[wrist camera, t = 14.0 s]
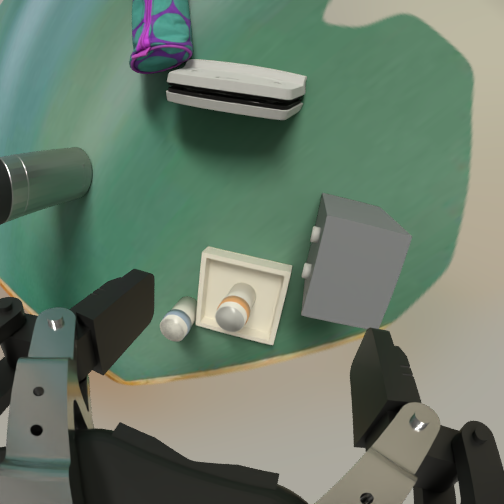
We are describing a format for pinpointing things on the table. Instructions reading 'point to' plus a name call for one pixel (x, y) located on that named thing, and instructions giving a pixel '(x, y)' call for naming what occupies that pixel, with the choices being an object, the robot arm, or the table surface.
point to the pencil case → (160, 35)
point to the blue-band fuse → (179, 319)
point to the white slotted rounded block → (237, 88)
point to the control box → (352, 263)
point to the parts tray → (250, 272)
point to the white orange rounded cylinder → (236, 307)
